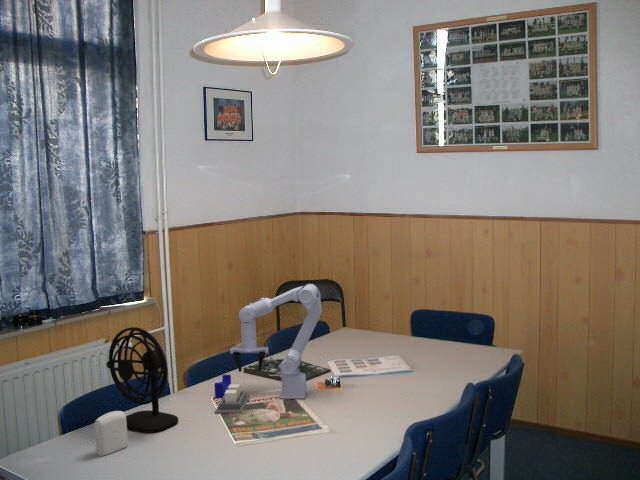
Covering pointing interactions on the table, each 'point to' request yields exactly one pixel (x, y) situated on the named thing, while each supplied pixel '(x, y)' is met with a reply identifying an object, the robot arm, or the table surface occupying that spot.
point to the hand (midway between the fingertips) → (250, 371)
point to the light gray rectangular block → (231, 396)
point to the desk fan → (151, 363)
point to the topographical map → (273, 370)
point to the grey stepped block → (233, 407)
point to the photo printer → (111, 432)
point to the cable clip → (222, 386)
